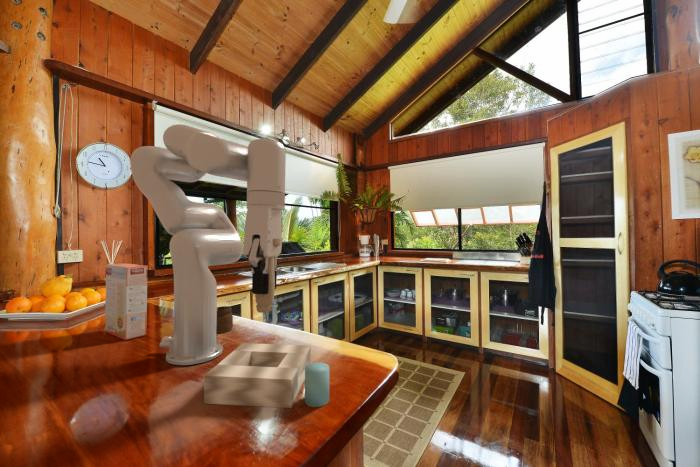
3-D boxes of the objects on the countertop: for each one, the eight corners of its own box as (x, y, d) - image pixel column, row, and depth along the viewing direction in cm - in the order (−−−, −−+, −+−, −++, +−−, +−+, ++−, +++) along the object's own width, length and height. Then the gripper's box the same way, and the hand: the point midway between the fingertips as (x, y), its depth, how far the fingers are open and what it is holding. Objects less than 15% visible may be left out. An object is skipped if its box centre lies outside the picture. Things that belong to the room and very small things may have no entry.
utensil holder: (228, 333, 91) (228, 294, 91) (207, 333, 91) (207, 294, 91) (235, 327, 97) (236, 290, 97) (216, 327, 97) (216, 290, 97)
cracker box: (148, 335, 89) (148, 265, 89) (124, 341, 84) (124, 266, 84) (127, 327, 96) (127, 262, 96) (104, 332, 91) (104, 263, 91)
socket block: (204, 403, 54) (204, 375, 54) (242, 364, 70) (242, 343, 70) (291, 408, 52) (291, 379, 52) (310, 367, 68) (310, 345, 68)
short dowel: (302, 406, 53) (302, 372, 53) (307, 392, 58) (307, 361, 58) (327, 407, 53) (327, 373, 53) (330, 394, 57) (331, 362, 57)
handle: (266, 316, 58) (267, 238, 57) (244, 311, 61) (245, 237, 61) (284, 311, 62) (285, 238, 62) (262, 306, 65) (264, 237, 65)
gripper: (262, 205, 70) (261, 283, 70) (229, 197, 53) (227, 300, 53) (294, 206, 69) (293, 284, 69) (270, 197, 53) (268, 301, 53)
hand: (264, 290), depth 61 cm, fingers closed on handle, 4 cm apart
